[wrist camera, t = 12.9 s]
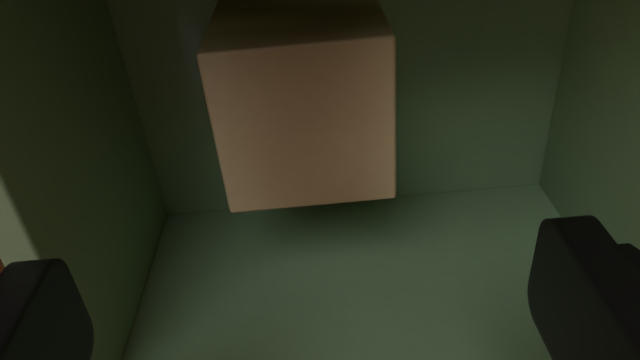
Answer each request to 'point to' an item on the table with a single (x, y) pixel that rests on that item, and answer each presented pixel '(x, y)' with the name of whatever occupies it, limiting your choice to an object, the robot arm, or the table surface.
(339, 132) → the block
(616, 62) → the chest
